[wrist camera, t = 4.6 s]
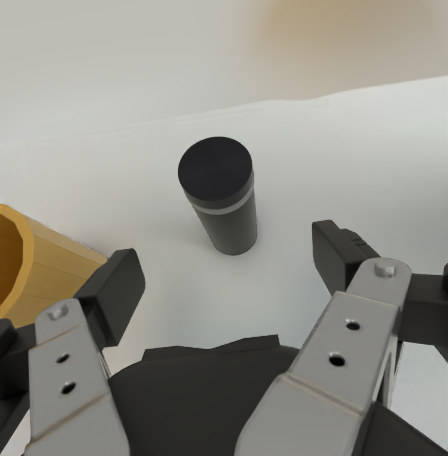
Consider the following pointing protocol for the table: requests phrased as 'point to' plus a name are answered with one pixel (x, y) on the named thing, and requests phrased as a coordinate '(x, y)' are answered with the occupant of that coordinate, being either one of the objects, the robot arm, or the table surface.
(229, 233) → the dark grey cylinder
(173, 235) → the table surface
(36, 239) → the mug
